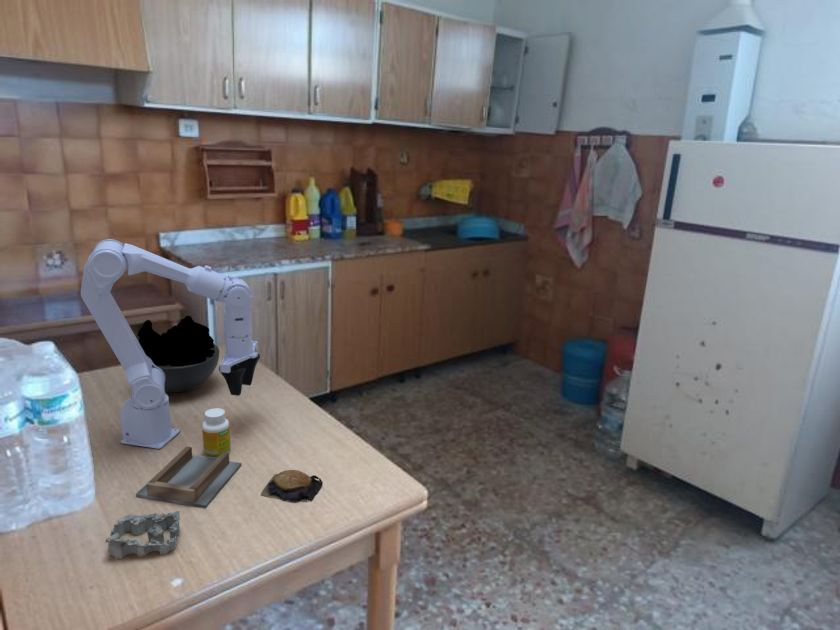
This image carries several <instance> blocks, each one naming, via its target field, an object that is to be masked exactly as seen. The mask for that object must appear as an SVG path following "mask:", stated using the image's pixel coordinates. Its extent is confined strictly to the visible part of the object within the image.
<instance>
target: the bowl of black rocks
mask: <svg viewBox="0 0 840 630" xmlns="http://www.w3.org/2000/svg"><path fill="white" fill-rule="evenodd" d="M166 330H167V331H166V332H163V333H161V334H159V333H158V332H156V331H155V330H154V329H153V322H152V321H151V320H150V319H147V320H145V321H144V322H143V324H142V326H141V328H139V330H138V331H137V337H138V338H139V339H138V342H139V344H140V346H141V347H142V349H143V351H144V353H145V354H146V356H147V357H149V358H150V359H151V360H152V362H153V363H154V365H155V366H157V367H159V368H160V369H161V370H162V371H163V372H164V374H165V383H164V390H165V392H170V393H180V392H188V391H190V390H193V389H196V388H197V387H199V386H201V385H202V384H204V383H205V382H206V381H208V379H209V378H210V377H211V376H212V375H213V373H214V372H215V370H216V367H217V365H218V363H219V360H220V348H219V346H218V345H216V344H215V341H214V339H213V337H212V336H211V335H210V333H209V332H210V328H209V327H208V326H207V325H203V324H201V323H199V322H196V321H194V319H193V317H192V316H191V315H186V316H185V317H184V318H182V319H180V321H179V323H177V325H176V324H175V325H173V326H172V327H171V328H168V329H166Z"/></svg>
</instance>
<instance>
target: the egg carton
mask: <svg viewBox="0 0 840 630" xmlns="http://www.w3.org/2000/svg"><path fill="white" fill-rule="evenodd" d="M180 527H181V526H180V510H176V511H172V512H169V513H167V514H166V513H164V512H163V513H161V514H159V513H158V512H154V513H151V514H142V515H139V514H126V515H124V516H122V517H121V518H119V519H118V520H116V522H115V523H114V525H113V528H112V530H111V532H110V536H108V537H107V538H106V540H105V543H107V545H108V554H109V556H112V557H114V558H115V560H121V559H123V558H124V557H126V556H127V555H129V554H135V555H137V558H141V557H145V556H147V554H149V553H150V552H154V551H155V552H156V551H157V552H159V554H160V555H167V554H169V552H170V551H172V550H174V549H177V545H178V543H177V536H179V535H180V533H181V529H180ZM167 529H168V532H169V539H167V540H166V542H165V538H164V537H165V536H164V532H165V531H167ZM128 532H131V534H132V535H134V536H139V535H143V534H144V533H145V532H147V539H148V542H147V543H145V544H144V545H143V541H142V539H140V538H139V539H138V538H133V539H132V540H131V539H126V540H124V539H121V538H120V537H122V536H124V534H125V533H128ZM164 542H165V543H164Z"/></svg>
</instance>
